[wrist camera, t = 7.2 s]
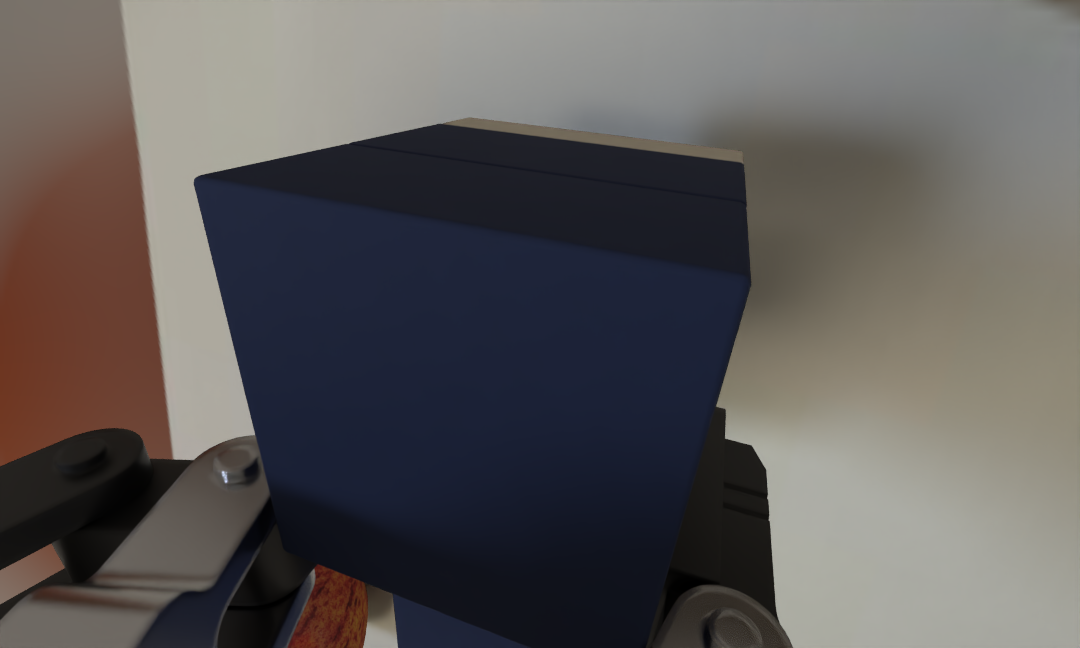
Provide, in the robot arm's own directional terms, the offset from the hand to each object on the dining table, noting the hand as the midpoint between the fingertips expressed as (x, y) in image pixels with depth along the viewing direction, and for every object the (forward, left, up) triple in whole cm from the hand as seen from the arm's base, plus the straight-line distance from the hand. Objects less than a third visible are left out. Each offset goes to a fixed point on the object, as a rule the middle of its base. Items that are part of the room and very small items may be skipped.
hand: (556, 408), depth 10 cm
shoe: (0, 0, -1) cm, 1 cm away
